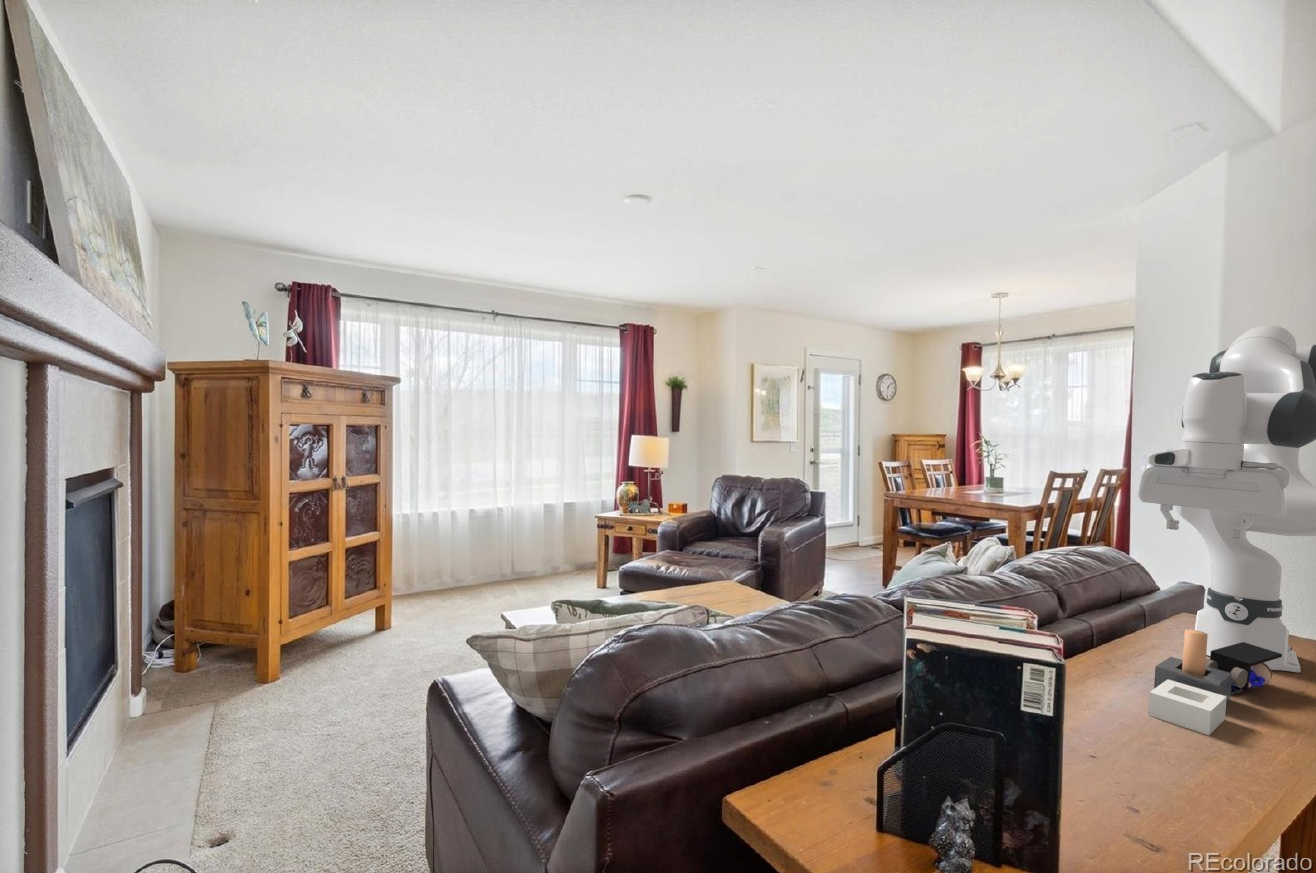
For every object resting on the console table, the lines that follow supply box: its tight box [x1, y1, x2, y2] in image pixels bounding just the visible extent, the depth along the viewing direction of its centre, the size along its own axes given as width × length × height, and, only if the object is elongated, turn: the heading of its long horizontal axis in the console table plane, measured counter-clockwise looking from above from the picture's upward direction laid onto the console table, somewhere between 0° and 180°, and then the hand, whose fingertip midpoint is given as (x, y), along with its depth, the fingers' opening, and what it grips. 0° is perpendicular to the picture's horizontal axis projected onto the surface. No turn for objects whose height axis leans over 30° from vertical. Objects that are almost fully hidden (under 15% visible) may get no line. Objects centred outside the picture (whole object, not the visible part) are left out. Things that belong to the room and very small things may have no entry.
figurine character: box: [1206, 642, 1282, 695], centre depth 119 cm, size 7×8×15 cm
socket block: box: [1147, 680, 1227, 736], centre depth 106 cm, size 10×8×4 cm
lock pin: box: [1182, 629, 1208, 676], centre depth 114 cm, size 3×3×12 cm
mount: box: [1153, 656, 1232, 705], centre depth 114 cm, size 9×9×5 cm
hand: (1204, 533), depth 114 cm, fingers open, 8 cm apart
